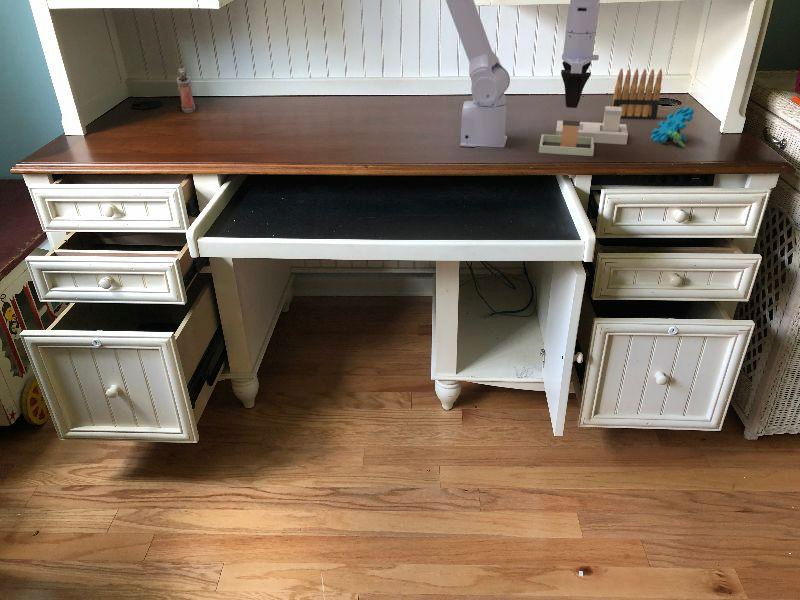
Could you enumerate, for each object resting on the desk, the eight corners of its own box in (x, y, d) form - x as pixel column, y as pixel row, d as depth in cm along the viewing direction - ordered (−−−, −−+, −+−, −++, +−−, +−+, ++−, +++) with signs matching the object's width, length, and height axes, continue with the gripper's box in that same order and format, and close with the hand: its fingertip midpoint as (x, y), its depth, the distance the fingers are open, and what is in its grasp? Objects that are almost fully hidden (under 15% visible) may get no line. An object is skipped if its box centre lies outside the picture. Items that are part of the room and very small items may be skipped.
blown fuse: (559, 150, 135) (563, 120, 132) (560, 145, 138) (563, 115, 135) (575, 151, 134) (580, 121, 131) (576, 146, 137) (580, 116, 134)
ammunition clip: (609, 120, 155) (618, 69, 148) (608, 118, 156) (617, 67, 150) (655, 121, 153) (666, 70, 147) (654, 119, 155) (664, 68, 149)
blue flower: (647, 126, 145) (688, 97, 139) (663, 144, 147) (704, 117, 141) (649, 148, 137) (692, 118, 131) (665, 167, 139) (709, 139, 132)
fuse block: (554, 142, 141) (556, 131, 140) (556, 131, 148) (557, 120, 146) (625, 147, 138) (627, 135, 137) (624, 135, 145) (626, 124, 143)
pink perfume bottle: (181, 105, 172) (174, 66, 167) (194, 103, 173) (187, 65, 168) (182, 112, 166) (174, 73, 161) (195, 111, 167) (188, 71, 161)
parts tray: (538, 155, 134) (539, 145, 133) (540, 143, 141) (541, 134, 140) (592, 158, 132) (594, 149, 131) (592, 146, 139) (593, 137, 138)
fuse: (601, 139, 141) (605, 110, 137) (600, 134, 143) (605, 106, 140) (617, 140, 140) (622, 111, 137) (616, 135, 143) (621, 106, 139)
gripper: (602, 38, 117) (592, 113, 124) (601, 25, 129) (591, 94, 136) (563, 37, 119) (555, 111, 126) (565, 24, 131) (558, 92, 138)
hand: (571, 102), depth 131 cm, fingers open, 7 cm apart
